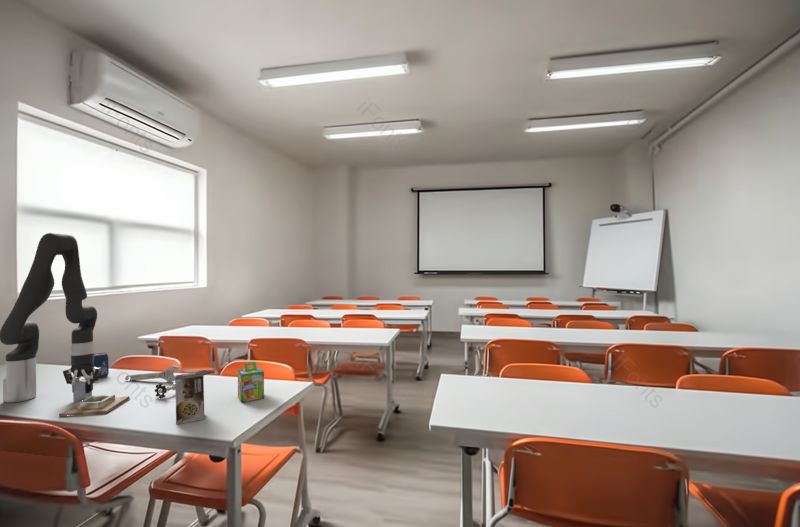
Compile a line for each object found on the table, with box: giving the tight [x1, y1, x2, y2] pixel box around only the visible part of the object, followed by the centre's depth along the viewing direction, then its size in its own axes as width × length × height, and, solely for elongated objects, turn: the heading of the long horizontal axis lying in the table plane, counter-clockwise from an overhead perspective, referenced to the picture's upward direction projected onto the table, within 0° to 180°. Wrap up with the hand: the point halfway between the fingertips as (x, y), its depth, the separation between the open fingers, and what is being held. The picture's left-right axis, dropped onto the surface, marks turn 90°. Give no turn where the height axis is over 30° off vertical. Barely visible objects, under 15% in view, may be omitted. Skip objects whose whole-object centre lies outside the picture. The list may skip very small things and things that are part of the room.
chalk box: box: [237, 361, 265, 403], centre depth 158 cm, size 9×9×15 cm
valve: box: [154, 382, 175, 400], centre depth 164 cm, size 7×7×12 cm
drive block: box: [72, 378, 93, 402], centre depth 159 cm, size 4×4×8 cm
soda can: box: [92, 352, 110, 380], centre depth 191 cm, size 7×7×12 cm
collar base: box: [58, 394, 130, 417], centre depth 149 cm, size 16×16×3 cm
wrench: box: [124, 364, 182, 384], centre depth 183 cm, size 8×2×30 cm
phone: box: [198, 370, 213, 376], centre depth 192 cm, size 7×1×15 cm
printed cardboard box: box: [174, 371, 205, 425], centre depth 137 cm, size 9×6×16 cm
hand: (82, 392), depth 159 cm, fingers closed on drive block, 4 cm apart
